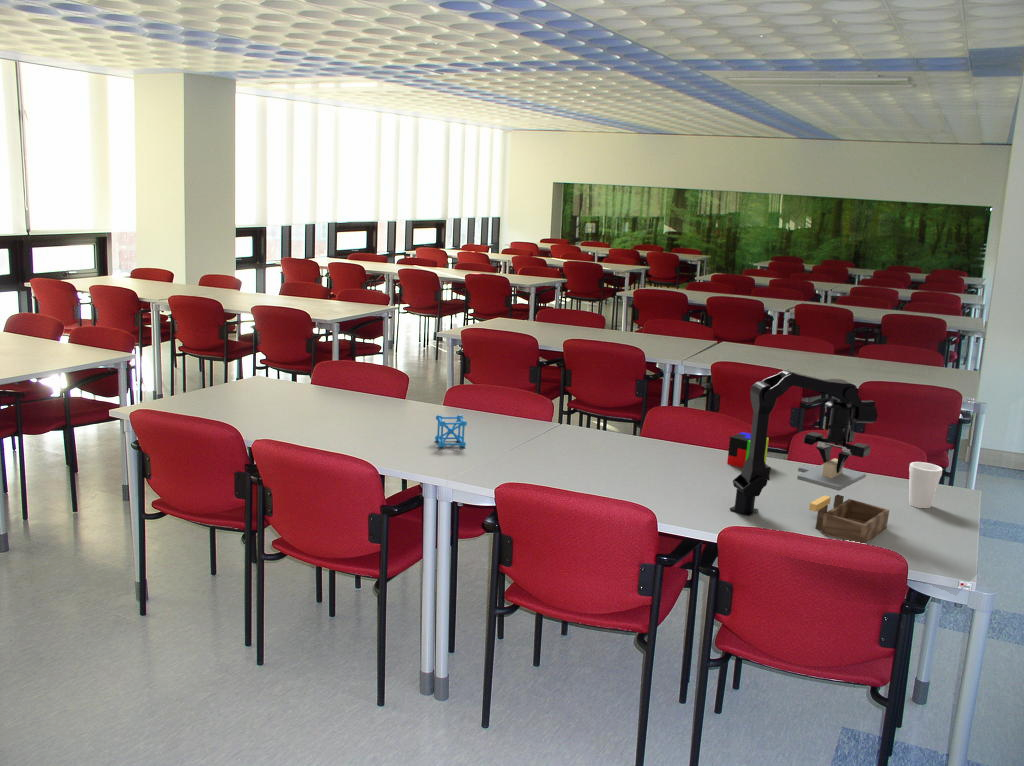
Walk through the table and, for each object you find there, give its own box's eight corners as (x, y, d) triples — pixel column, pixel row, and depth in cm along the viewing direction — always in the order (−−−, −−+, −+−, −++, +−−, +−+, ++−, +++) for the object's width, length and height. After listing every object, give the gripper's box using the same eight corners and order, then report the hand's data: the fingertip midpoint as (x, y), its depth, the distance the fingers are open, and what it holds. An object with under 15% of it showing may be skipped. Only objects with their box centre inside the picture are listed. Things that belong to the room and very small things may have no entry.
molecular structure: (438, 448, 319) (439, 421, 317) (434, 440, 328) (435, 413, 326) (466, 448, 321) (467, 421, 319) (461, 440, 331) (462, 413, 329)
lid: (838, 490, 264) (841, 473, 263) (786, 476, 275) (788, 459, 274) (865, 477, 279) (867, 461, 278) (814, 463, 289) (816, 448, 288)
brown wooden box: (862, 546, 252) (866, 521, 250) (811, 530, 261) (815, 507, 259) (886, 529, 266) (890, 505, 264) (837, 515, 275) (840, 492, 273)
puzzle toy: (739, 458, 328) (742, 431, 326) (765, 464, 322) (768, 437, 320) (727, 463, 321) (730, 436, 318) (753, 470, 315) (756, 443, 312)
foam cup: (897, 502, 290) (904, 464, 287) (914, 498, 295) (920, 460, 292) (925, 512, 282) (932, 472, 279) (941, 507, 287) (948, 468, 284)
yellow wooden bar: (815, 511, 255) (816, 505, 254) (809, 509, 256) (809, 503, 256) (829, 503, 262) (830, 497, 262) (823, 501, 264) (824, 495, 263)
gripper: (880, 424, 271) (873, 474, 275) (821, 411, 284) (814, 458, 287) (866, 430, 263) (858, 481, 267) (805, 416, 275) (799, 465, 279)
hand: (832, 471), depth 275 cm, fingers closed on lid, 3 cm apart
